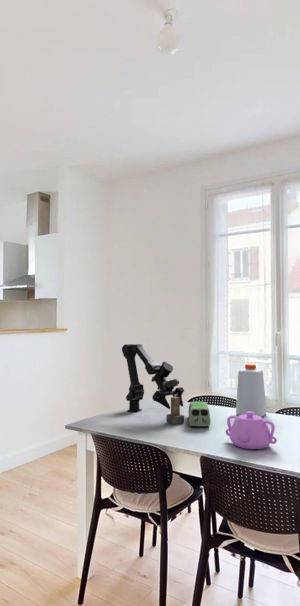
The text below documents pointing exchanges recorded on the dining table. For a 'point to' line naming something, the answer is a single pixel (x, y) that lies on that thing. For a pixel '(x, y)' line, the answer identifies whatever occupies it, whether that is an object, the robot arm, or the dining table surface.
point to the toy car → (199, 414)
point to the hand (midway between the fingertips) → (176, 407)
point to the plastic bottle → (250, 391)
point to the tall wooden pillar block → (175, 412)
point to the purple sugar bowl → (250, 431)
